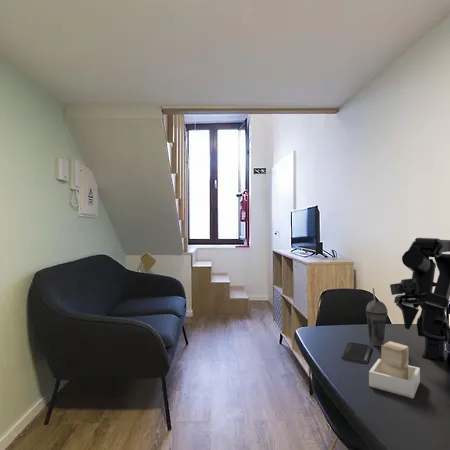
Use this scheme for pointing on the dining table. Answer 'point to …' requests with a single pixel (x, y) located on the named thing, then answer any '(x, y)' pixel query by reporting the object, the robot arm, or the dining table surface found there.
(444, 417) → the dining table surface
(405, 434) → the dining table surface
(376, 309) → the beverage cup
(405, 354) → the wood block
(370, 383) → the box
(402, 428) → the dining table surface
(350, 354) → the phone
